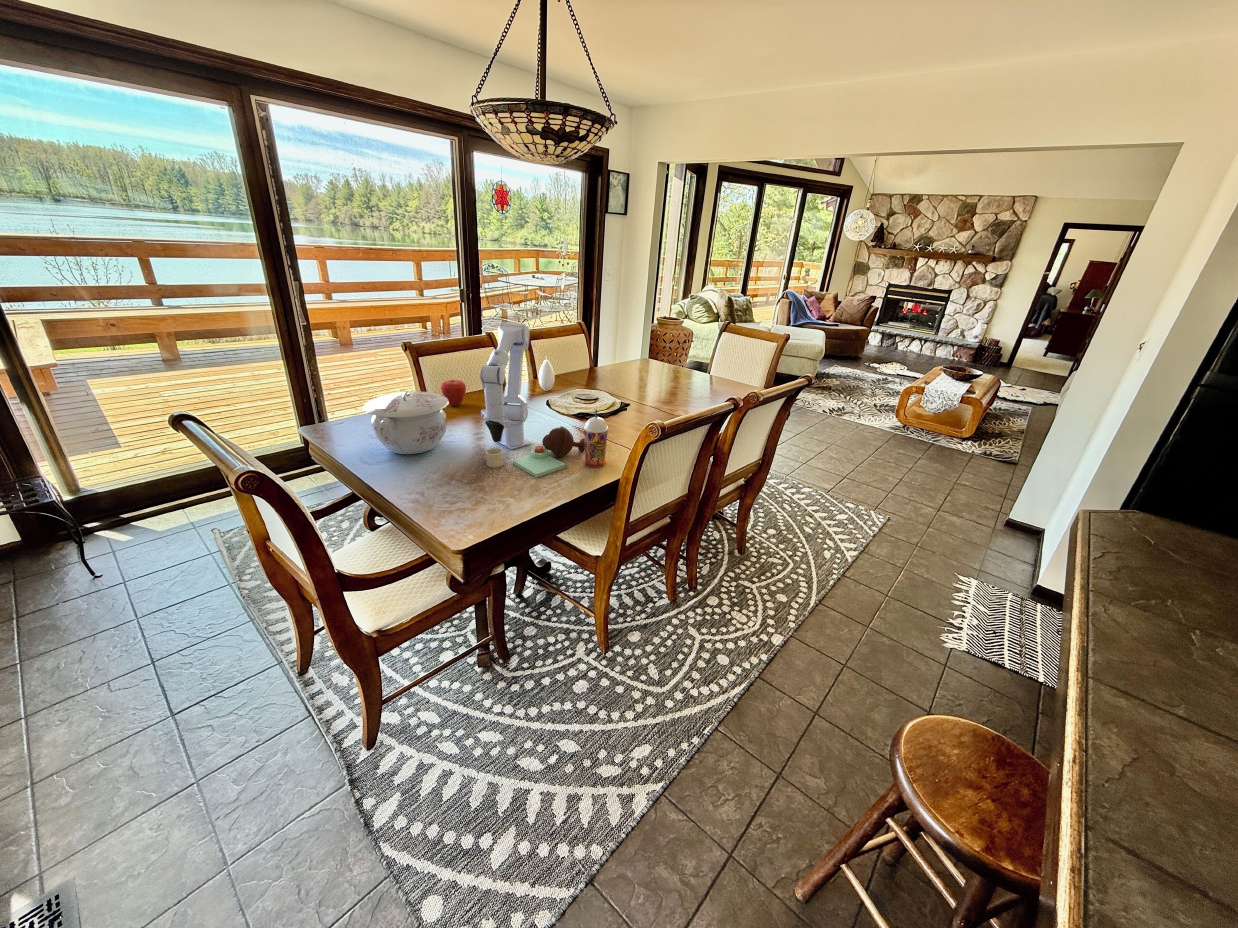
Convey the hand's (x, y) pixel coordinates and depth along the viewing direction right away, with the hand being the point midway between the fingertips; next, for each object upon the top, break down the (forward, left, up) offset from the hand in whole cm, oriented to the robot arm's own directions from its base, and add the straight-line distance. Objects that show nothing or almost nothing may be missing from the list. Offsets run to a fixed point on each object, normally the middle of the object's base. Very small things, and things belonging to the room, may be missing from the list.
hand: (497, 441), depth 161 cm
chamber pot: (-32, -16, -9) cm, 36 cm away
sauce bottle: (-60, +65, -9) cm, 88 cm away
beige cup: (-1, -1, -9) cm, 9 cm away
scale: (+9, +10, -9) cm, 16 cm away
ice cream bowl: (+11, +29, -6) cm, 32 cm away
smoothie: (+20, +26, -9) cm, 34 cm away
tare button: (+5, +14, -6) cm, 16 cm away
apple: (-66, +18, -9) cm, 68 cm away
